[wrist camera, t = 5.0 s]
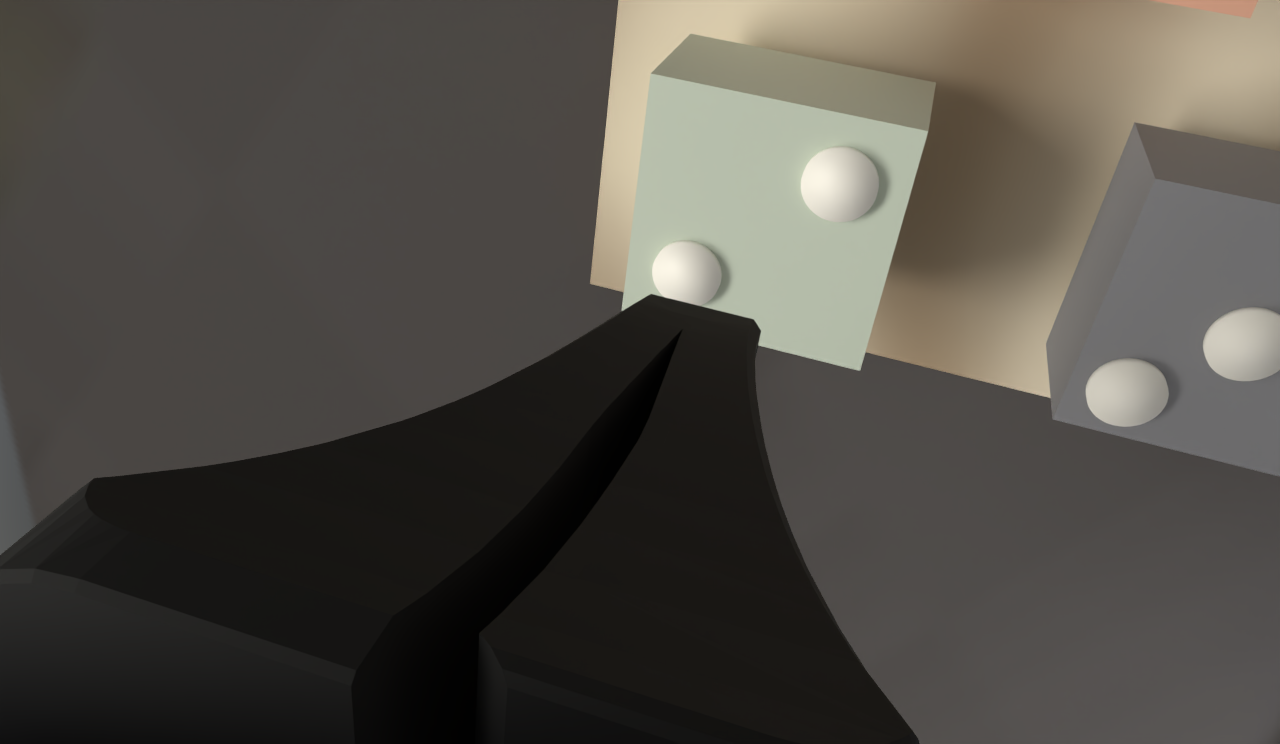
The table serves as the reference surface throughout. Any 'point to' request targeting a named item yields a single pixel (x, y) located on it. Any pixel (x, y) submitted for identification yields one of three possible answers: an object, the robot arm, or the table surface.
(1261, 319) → the tile three
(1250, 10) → the tile one
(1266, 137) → the button board
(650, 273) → the tile two
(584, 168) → the table surface
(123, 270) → the table surface
